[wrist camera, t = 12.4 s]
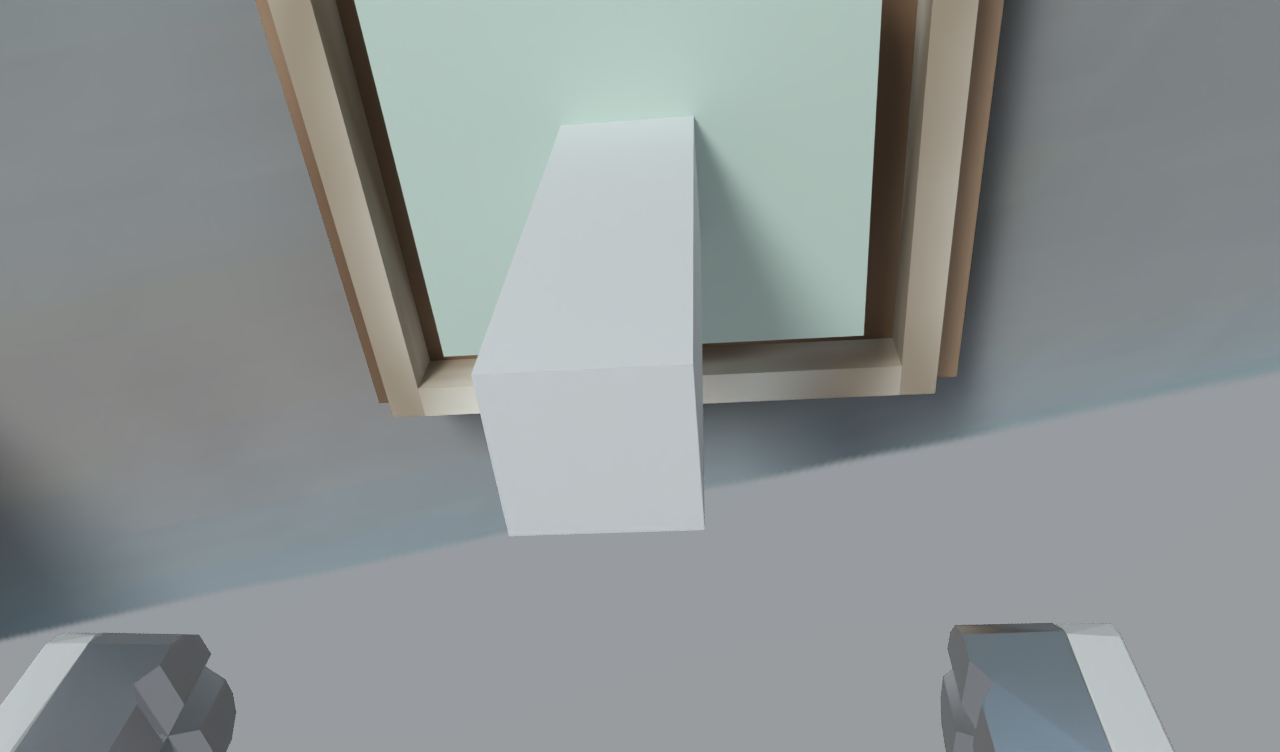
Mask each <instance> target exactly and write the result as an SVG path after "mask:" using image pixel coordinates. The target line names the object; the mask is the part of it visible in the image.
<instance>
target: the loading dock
mask: <svg viewBox="0 0 1280 752" xmlns="http://www.w3.org/2000/svg"><path fill="white" fill-rule="evenodd" d="M255 2H256V5H257V8H258V11H259V15H260V18H261V21H262V24H263V28H264V31H265V34H266V37H267V41H268V44H269V47H270V50H271V54H272V57H273V60H274V63H275V66H276V70H277V73H278V76H279V79H280V83H281V86H282V89H283V92H284V96H285V99H286V102H287V105H288V109H289V112H290V115H291V118H292V121H293V125H294V128H295V131H296V134H297V138H298V141H299V144H300V147H301V151H302V154H303V157H304V160H305V164H306V167H307V170H308V173H309V176H310V180H311V183H312V186H313V189H314V193H315V196H316V199H317V202H318V206H319V209H320V212H321V215H322V219H323V222H324V225H325V228H326V231H327V235H328V238H329V241H330V244H331V248H332V251H333V254H334V257H335V261H336V264H337V267H338V270H339V274H340V277H341V280H342V283H343V287H344V290H345V293H346V296H347V299H348V303H349V306H350V309H351V312H352V316H353V319H354V322H355V325H356V329H357V332H358V335H359V338H360V342H361V345H362V348H363V351H364V354H365V358H366V361H367V364H368V367H369V371H370V374H371V377H372V380H373V384H374V387H375V390H376V393H377V397H378V400H379V403H389V405H390V408H391V412H392V415H393V417H411V416H434V415H457V414H479V413H480V411H479V406H478V402H477V398H476V394H475V389H474V385H473V381H472V377H471V373H472V371H473V368H474V365H475V362H476V360H477V357H478V355H468V356H448V357H444V355H443V351H442V347H441V343H440V339H439V335H438V331H437V327H436V323H435V319H434V315H433V311H432V307H431V303H430V299H429V295H428V292H427V288H426V284H425V280H424V276H423V272H422V268H421V264H420V260H419V256H418V252H417V248H416V244H415V240H414V236H413V232H412V228H411V224H410V220H409V216H408V212H407V208H406V204H405V200H404V196H403V192H402V188H401V184H400V180H399V176H398V172H397V168H396V165H395V161H394V157H393V153H392V149H391V145H390V141H389V137H388V133H387V129H386V125H385V121H384V117H383V113H382V109H381V105H380V101H379V97H378V93H377V89H376V85H375V81H374V77H373V73H372V69H371V65H370V61H369V57H368V53H367V49H366V45H365V41H364V38H363V34H362V30H361V26H360V22H359V18H358V14H357V10H356V6H355V2H354V0H255ZM1003 4H1004V0H882V11H881V29H880V48H879V66H878V84H877V102H876V121H875V139H874V157H873V176H872V194H871V212H870V230H869V249H868V267H867V285H866V303H865V322H864V336H845V337H825V338H805V339H785V340H765V341H746V342H726V343H706V344H702V371H703V404H707V403H730V402H752V401H775V400H798V399H821V398H843V397H866V396H889V395H911V394H934V393H935V389H936V380H937V378H939V377H957V369H958V361H959V353H960V346H961V338H962V330H963V322H964V314H965V306H966V298H967V290H968V282H969V274H970V266H971V258H972V250H973V242H974V234H975V227H976V219H977V211H978V203H979V195H980V187H981V179H982V171H983V163H984V155H985V147H986V139H987V131H988V123H989V115H990V108H991V100H992V92H993V84H994V76H995V68H996V60H997V52H998V44H999V36H1000V28H1001V20H1002V12H1003Z"/></svg>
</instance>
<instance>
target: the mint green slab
mask: <svg viewBox="0 0 1280 752" xmlns="http://www.w3.org/2000/svg"><path fill="white" fill-rule="evenodd" d="M354 2H355V6H356V10H357V14H358V18H359V22H360V26H361V30H362V34H363V38H364V41H365V45H366V49H367V53H368V57H369V61H370V65H371V69H372V73H373V77H374V81H375V85H376V89H377V93H378V97H379V101H380V105H381V109H382V113H383V117H384V121H385V125H386V129H387V133H388V137H389V141H390V145H391V149H392V153H393V157H394V161H395V165H396V168H397V172H398V176H399V180H400V184H401V188H402V192H403V196H404V200H405V204H406V208H407V212H408V216H409V220H410V224H411V228H412V232H413V236H414V240H415V244H416V248H417V252H418V256H419V260H420V264H421V268H422V272H423V276H424V280H425V284H426V288H427V292H428V295H429V299H430V303H431V307H432V311H433V315H434V319H435V323H436V327H437V331H438V335H439V339H440V343H441V347H442V351H443V355H444V357H448V356H468V355H478V357H477V360H476V362H475V365H474V368H473V371H472V373H471V377H472V381H473V385H474V389H475V394H476V398H477V402H478V406H479V411H480V415H481V419H482V423H483V428H484V432H485V436H486V440H487V445H488V449H489V453H490V457H491V462H492V466H493V470H494V474H495V479H496V483H497V487H498V491H499V496H500V500H501V504H502V508H503V513H504V517H505V521H506V525H507V530H508V534H509V536H522V535H523V536H524V535H557V534H587V533H618V532H619V533H620V532H648V531H649V532H651V531H681V530H704V529H705V526H704V525H705V523H704V447H703V371H702V344H706V343H726V342H746V341H765V340H785V339H805V338H825V337H845V336H864V322H865V303H866V285H867V267H868V249H869V230H870V212H871V194H872V176H873V157H874V139H875V121H876V102H877V84H878V66H879V48H880V29H881V11H882V0H354Z"/></svg>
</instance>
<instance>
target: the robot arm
mask: <svg viewBox="0 0 1280 752" xmlns="http://www.w3.org/2000/svg"><path fill="white" fill-rule="evenodd" d="M948 652H949V656H950V660H951V664H952V668H953V669H952V670H951V671H950V672H948V673H947V674H946V675H944V676H943V683H942V691H941V719H942V729H943V736H944V742H945V748H946V752H1175V751H1174V749H1173V747H1172V744H1171V742H1170V740H1169V738H1168V736H1167V734H1166V732H1165V729H1164V727H1163V725H1162V723H1161V721H1160V719H1159V716H1158V714H1157V712H1156V710H1155V708H1154V706H1153V703H1152V701H1151V699H1150V697H1149V695H1148V693H1147V691H1146V688H1145V686H1144V684H1143V682H1142V680H1141V678H1140V675H1139V673H1138V671H1137V669H1136V667H1135V665H1134V663H1133V660H1132V658H1131V656H1130V654H1129V652H1128V650H1127V648H1126V645H1125V643H1124V641H1123V639H1122V637H1121V635H1120V632H1118V630H1116V629H1115V628H1114V627H1113V626H1112V625H1111V624H1057V625H1054V624H1053V623H1034V624H1033V623H1032V624H992V625H991V624H988V625H955V626H954V628H953V629H952V631H951V632H950V638H949V644H948ZM210 655H211V653H210V651H209V650H208V648H207V647H206V645H205V644H204V642H203V640H202V639H201V637H200V636H199V635H186V634H132V633H131V634H130V633H129V634H128V633H62V634H60V635H59V636H57V637H55V638H54V639H52V640H51V641H49V642H48V643H46V644H45V646H44V647H43V648H42V650H41V651H40V652H39V654H38V655H37V656H36V658H35V659H34V660H33V662H32V663H31V664H30V666H29V667H28V669H27V670H26V671H25V673H24V674H23V676H22V677H21V678H20V679H19V681H18V682H17V683H16V685H15V686H14V688H13V689H12V690H11V692H10V693H9V694H8V696H7V697H6V699H5V700H4V701H3V702H2V704H1V705H0V752H226V751H227V748H228V746H229V744H230V742H231V740H232V734H233V728H234V721H235V715H236V709H235V704H234V697H233V693H232V691H231V689H230V687H229V685H228V684H227V681H226V680H225V679H224V678H222V677H221V676H219V675H218V674H216V673H215V672H213V671H212V670H210V669H209V668H207V667H205V666H206V664H207V661H208V659H209V657H210Z"/></svg>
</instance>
